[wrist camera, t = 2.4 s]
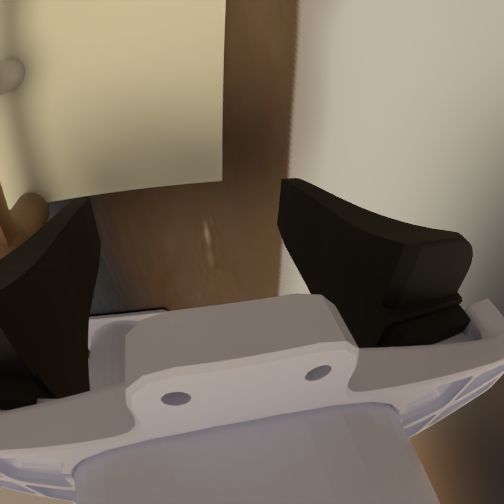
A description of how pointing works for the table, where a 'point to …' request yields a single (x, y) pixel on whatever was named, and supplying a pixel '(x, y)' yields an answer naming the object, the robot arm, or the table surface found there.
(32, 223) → the lever
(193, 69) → the cream shape sorter
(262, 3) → the table surface
